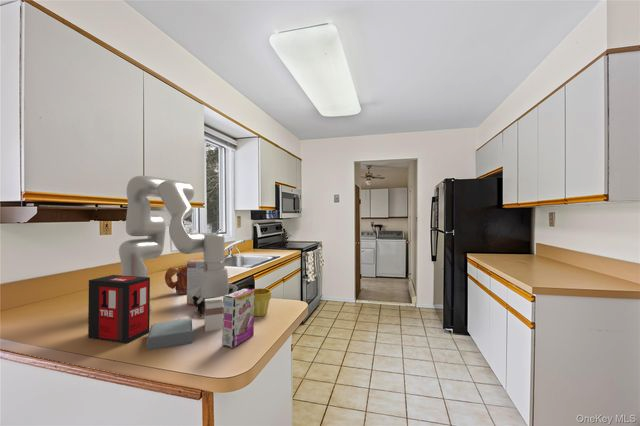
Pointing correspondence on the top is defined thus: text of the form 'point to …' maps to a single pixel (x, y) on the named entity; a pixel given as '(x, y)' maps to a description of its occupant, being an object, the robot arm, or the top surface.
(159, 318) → the top surface
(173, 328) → the display podium
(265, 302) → the plant pot
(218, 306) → the cream carton
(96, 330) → the cleaning product box
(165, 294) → the top surface
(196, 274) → the cracker box
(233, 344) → the candy bar box
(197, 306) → the brown clay jug
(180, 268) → the mug
